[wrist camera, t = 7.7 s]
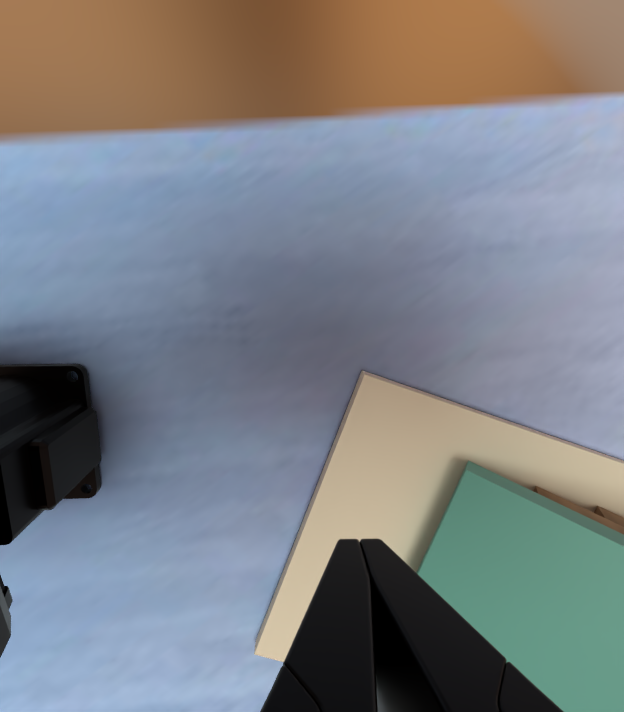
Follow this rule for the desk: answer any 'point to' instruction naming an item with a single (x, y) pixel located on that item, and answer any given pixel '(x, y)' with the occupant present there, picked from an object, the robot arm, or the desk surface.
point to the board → (417, 484)
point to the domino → (535, 587)
